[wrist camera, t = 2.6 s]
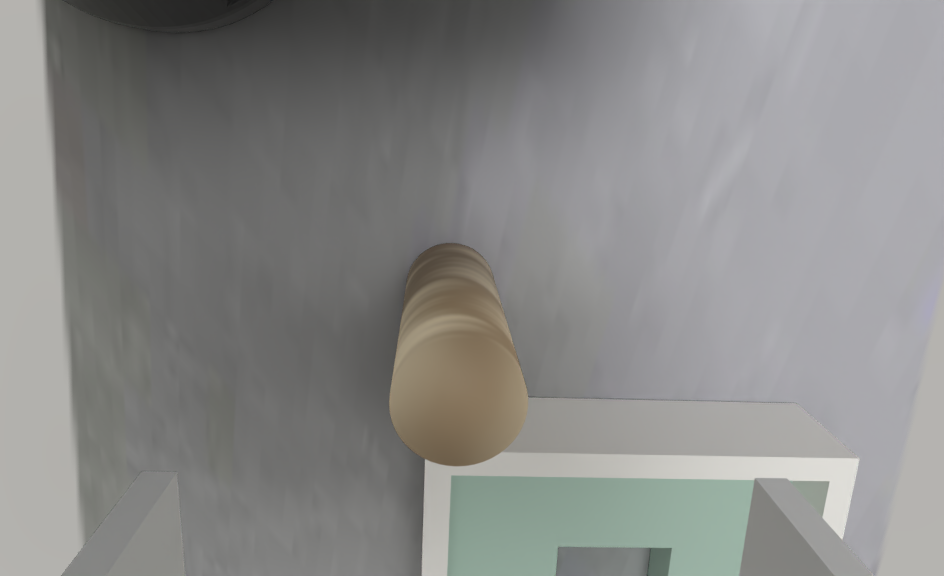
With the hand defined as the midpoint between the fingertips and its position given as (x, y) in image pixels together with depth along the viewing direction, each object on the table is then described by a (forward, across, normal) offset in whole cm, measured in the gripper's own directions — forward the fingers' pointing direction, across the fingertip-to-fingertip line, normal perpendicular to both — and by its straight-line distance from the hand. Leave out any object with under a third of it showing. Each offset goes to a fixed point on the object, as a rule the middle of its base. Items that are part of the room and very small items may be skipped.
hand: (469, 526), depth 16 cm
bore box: (+21, +9, -16) cm, 28 cm away
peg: (+21, 0, 0) cm, 21 cm away
